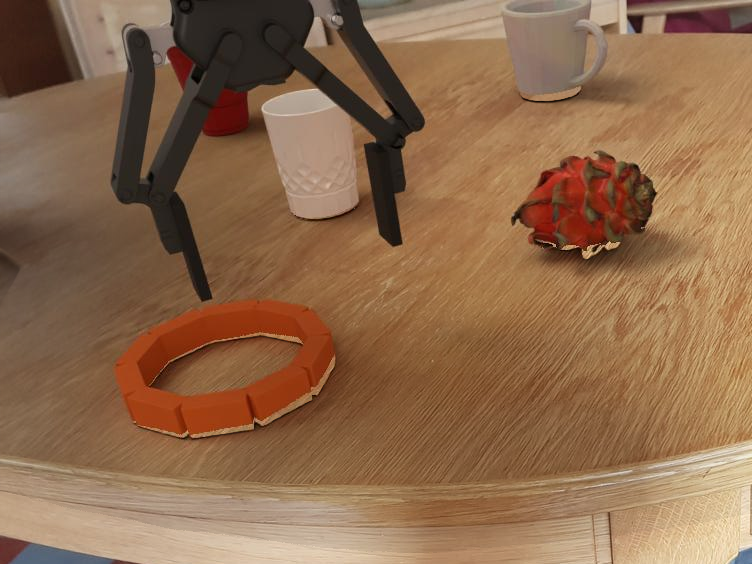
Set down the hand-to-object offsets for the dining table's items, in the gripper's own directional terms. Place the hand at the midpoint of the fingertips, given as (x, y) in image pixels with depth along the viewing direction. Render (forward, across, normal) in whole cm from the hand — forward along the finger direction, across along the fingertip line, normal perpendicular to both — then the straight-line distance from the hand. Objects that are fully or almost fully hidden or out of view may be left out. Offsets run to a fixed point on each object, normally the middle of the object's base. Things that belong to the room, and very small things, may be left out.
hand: (299, 266), depth 65 cm
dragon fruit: (+7, +24, +3) cm, 26 cm away
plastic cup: (+7, +7, +60) cm, 61 cm away
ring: (+7, -7, 0) cm, 9 cm away
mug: (+7, +44, +42) cm, 62 cm away
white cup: (+7, +9, +27) cm, 30 cm away
